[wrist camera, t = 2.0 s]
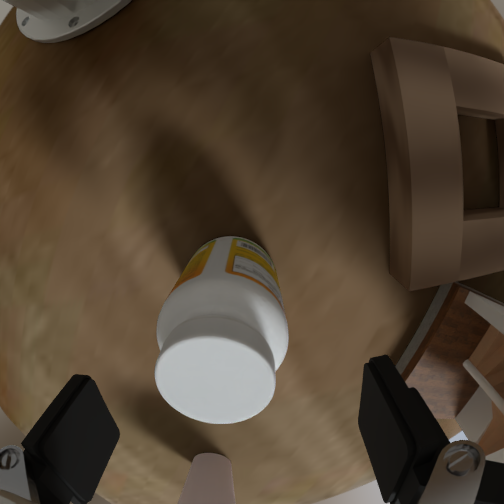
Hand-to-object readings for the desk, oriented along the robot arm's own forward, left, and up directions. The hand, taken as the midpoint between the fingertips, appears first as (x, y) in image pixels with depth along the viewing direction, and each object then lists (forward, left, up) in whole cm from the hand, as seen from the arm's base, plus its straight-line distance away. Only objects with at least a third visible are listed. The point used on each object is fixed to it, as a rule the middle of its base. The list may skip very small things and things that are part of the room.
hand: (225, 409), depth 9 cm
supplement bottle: (-1, 0, -10) cm, 10 cm away
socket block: (-7, +17, -10) cm, 21 cm away
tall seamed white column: (+9, +17, -10) cm, 21 cm away
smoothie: (+18, -5, -10) cm, 21 cm away
